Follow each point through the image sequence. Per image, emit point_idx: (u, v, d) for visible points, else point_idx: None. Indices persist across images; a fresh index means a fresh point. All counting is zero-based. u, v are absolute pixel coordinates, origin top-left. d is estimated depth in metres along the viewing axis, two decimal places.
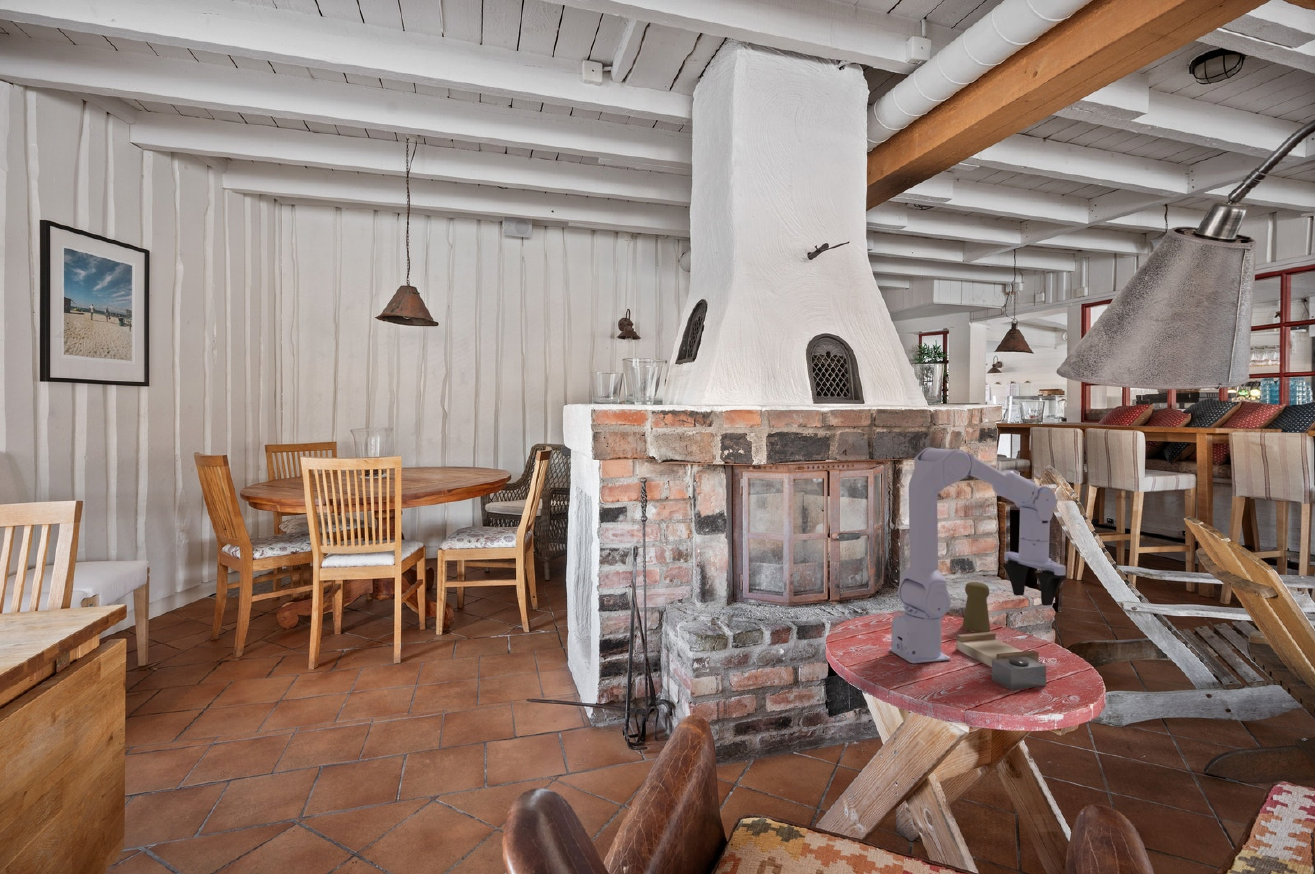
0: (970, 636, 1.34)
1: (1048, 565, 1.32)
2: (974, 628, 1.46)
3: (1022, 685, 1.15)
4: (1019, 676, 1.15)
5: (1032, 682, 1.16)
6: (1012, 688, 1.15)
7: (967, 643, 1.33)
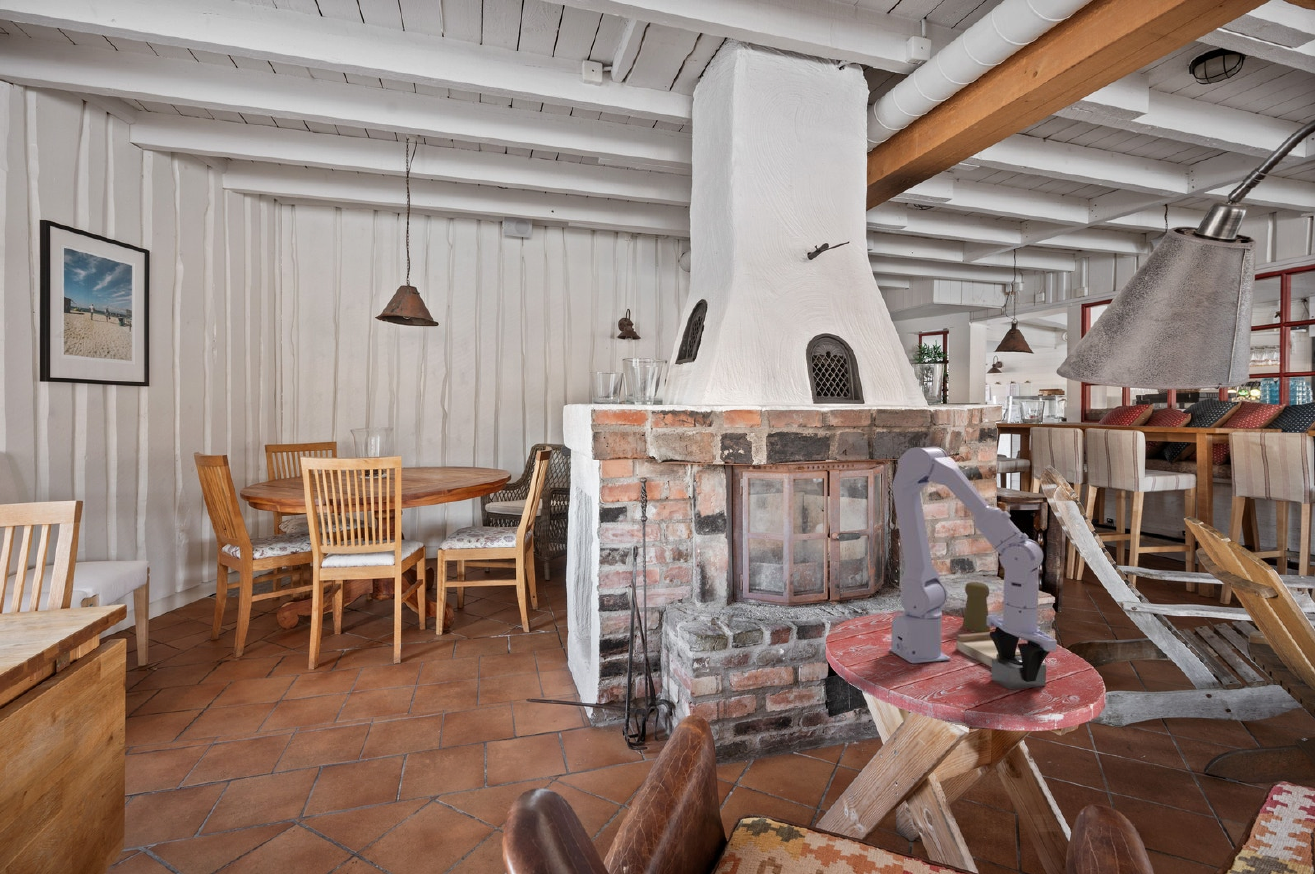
0: (970, 636, 1.34)
1: (1036, 638, 1.12)
2: (974, 628, 1.46)
3: (1022, 684, 1.15)
4: (1019, 675, 1.15)
5: (1032, 681, 1.16)
6: (1012, 687, 1.15)
7: (967, 643, 1.33)
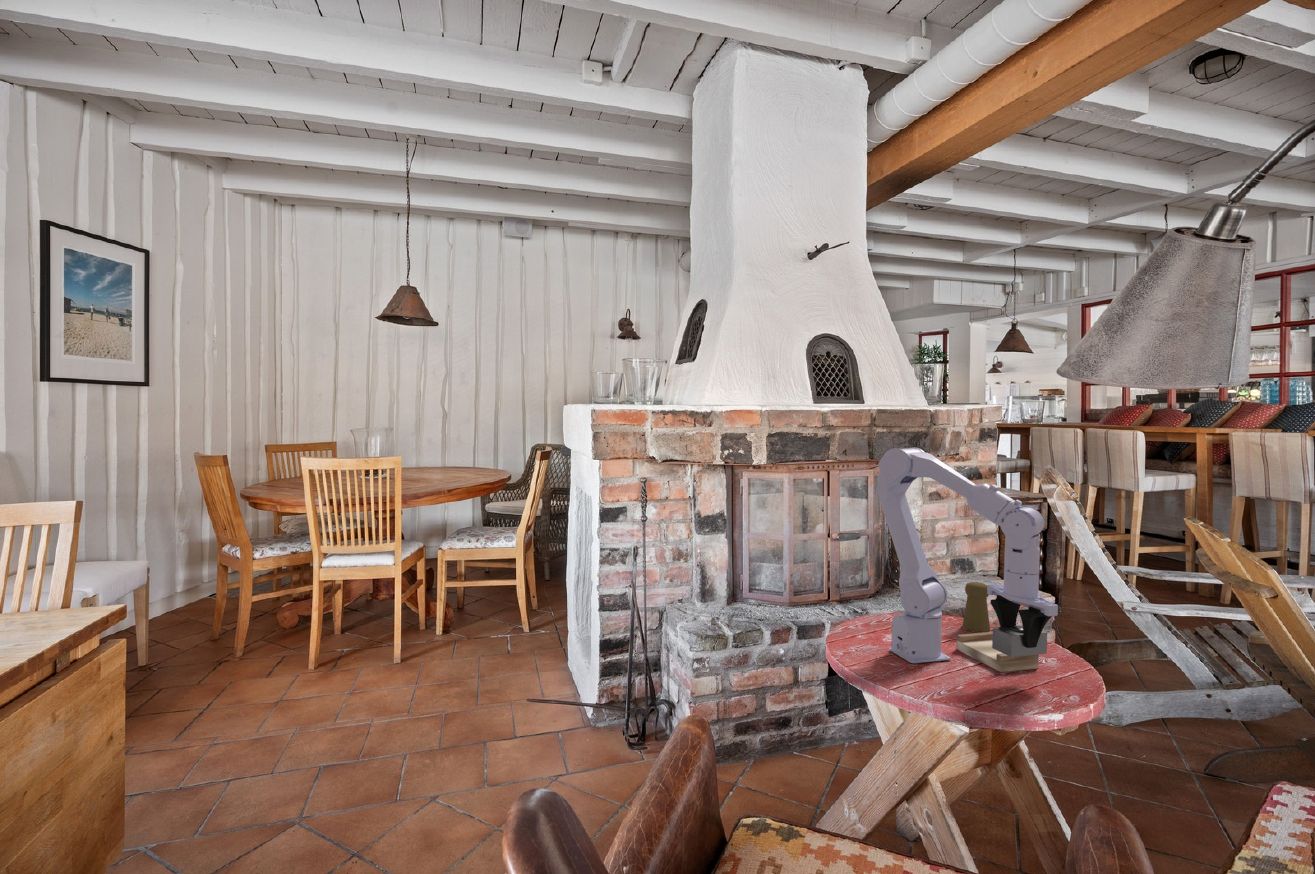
0: (970, 636, 1.34)
1: (1037, 603, 1.12)
2: (974, 628, 1.46)
3: (1023, 651, 1.15)
4: (1020, 642, 1.15)
5: (1033, 649, 1.16)
6: (1012, 654, 1.15)
7: (967, 643, 1.33)
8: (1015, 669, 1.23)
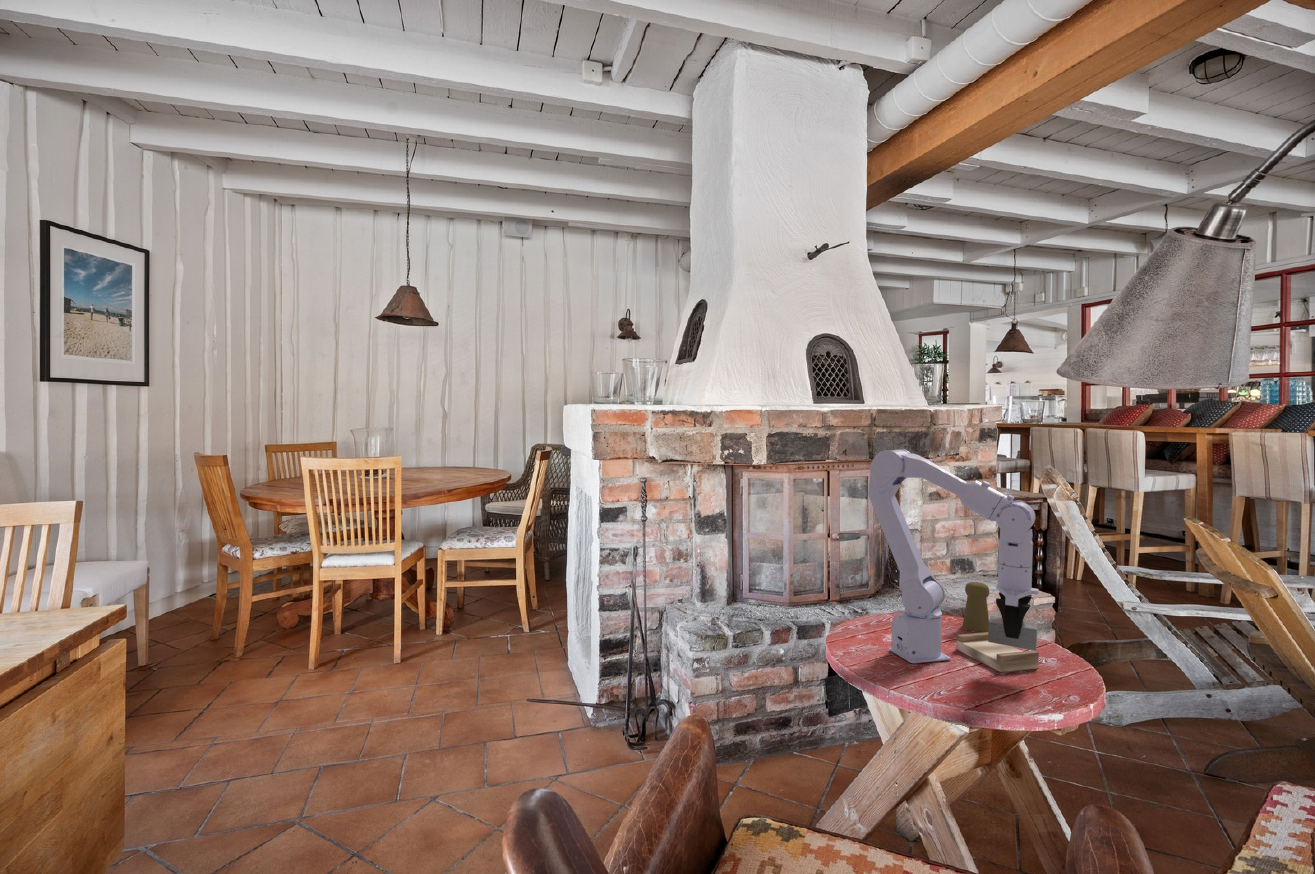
0: (970, 636, 1.34)
1: (1004, 593, 1.17)
2: (974, 628, 1.46)
3: (1003, 640, 1.19)
4: (999, 631, 1.20)
5: (1017, 641, 1.18)
6: (990, 640, 1.21)
7: (967, 643, 1.33)
8: (1015, 669, 1.23)
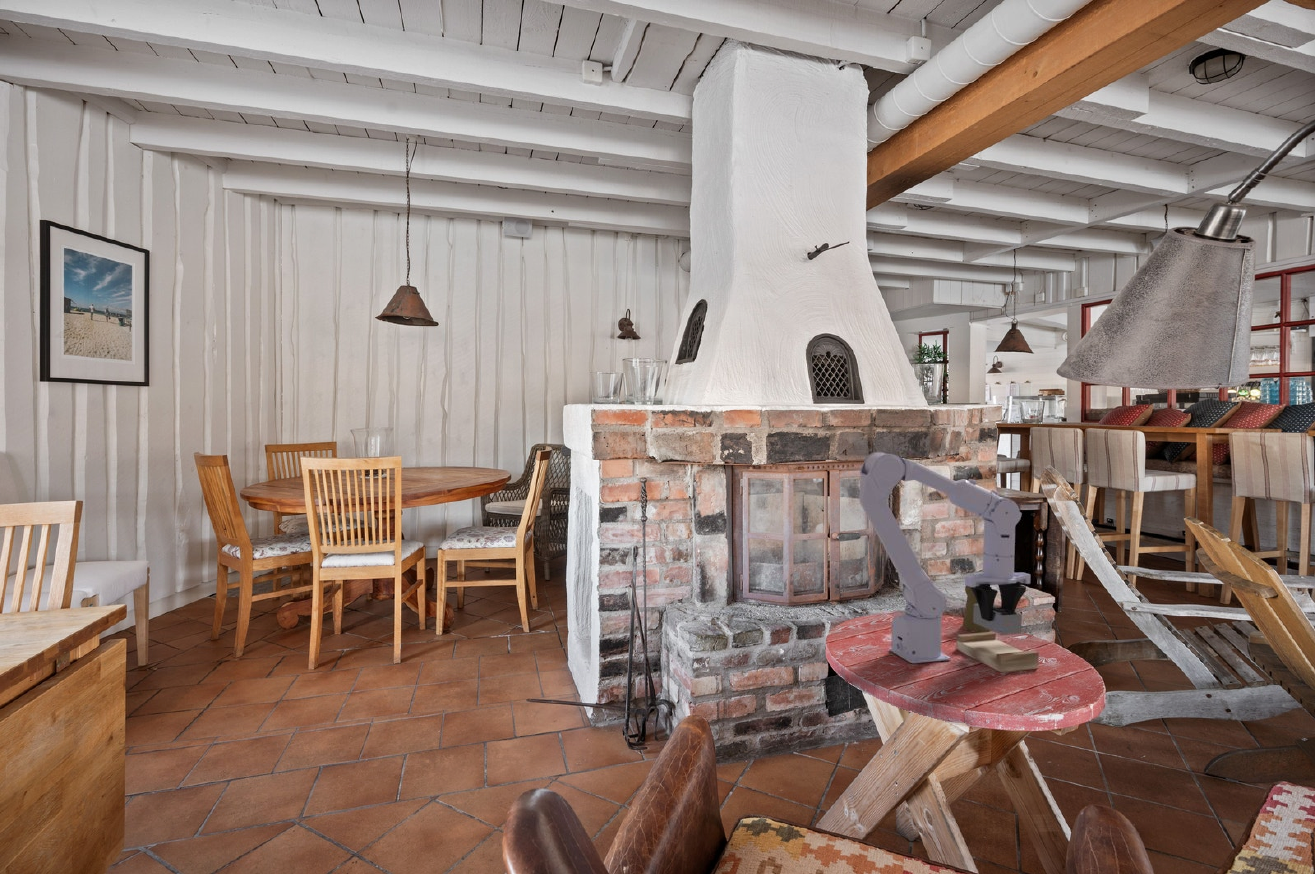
0: (970, 636, 1.34)
1: None
2: (974, 628, 1.46)
3: (982, 622, 1.30)
4: (980, 613, 1.31)
5: (990, 625, 1.28)
6: (974, 621, 1.32)
7: (967, 643, 1.33)
8: (1015, 669, 1.23)
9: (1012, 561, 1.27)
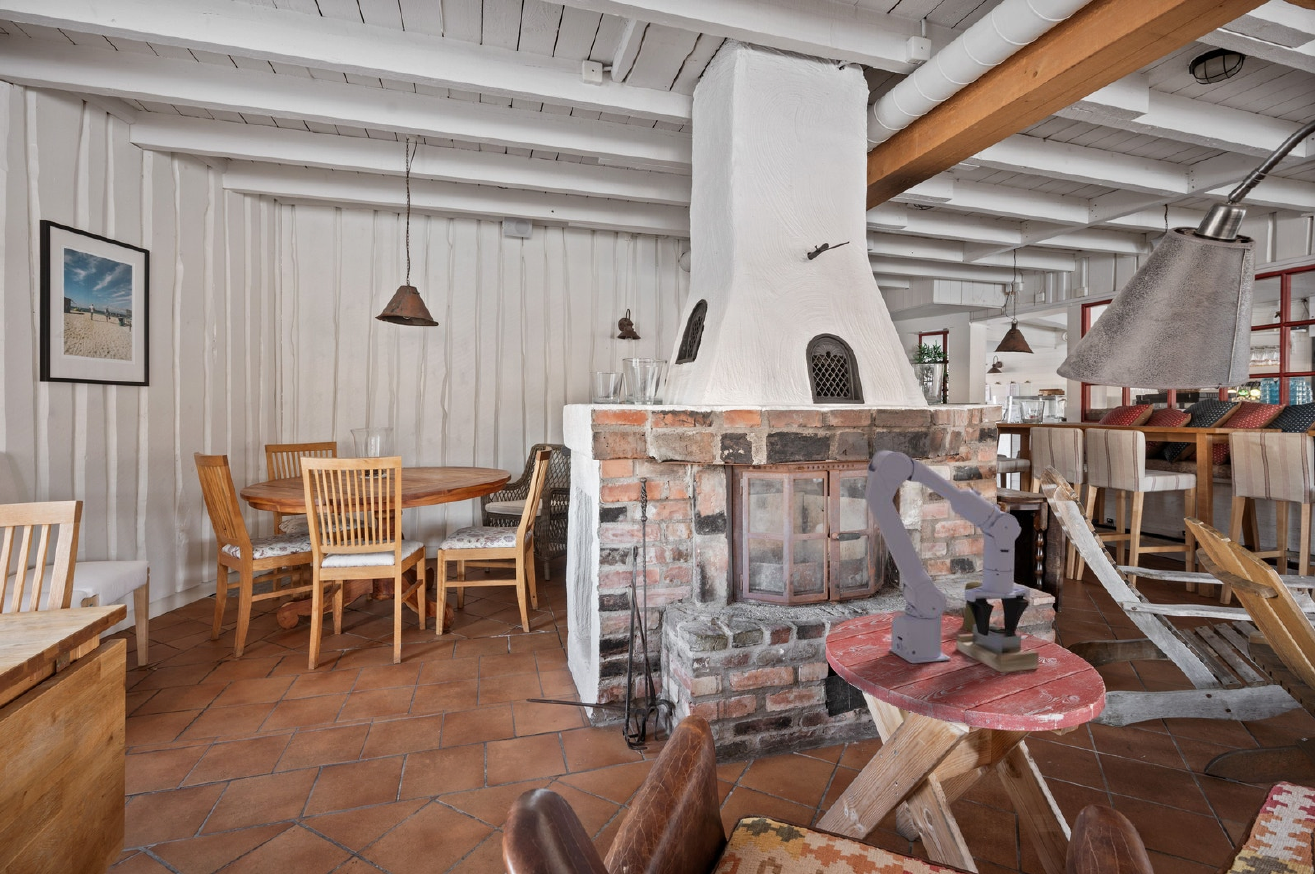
0: (970, 636, 1.34)
1: None
2: None
3: (981, 643, 1.30)
4: (979, 634, 1.31)
5: (990, 646, 1.28)
6: (973, 641, 1.33)
7: (967, 643, 1.33)
8: (1015, 669, 1.23)
9: (1012, 575, 1.27)
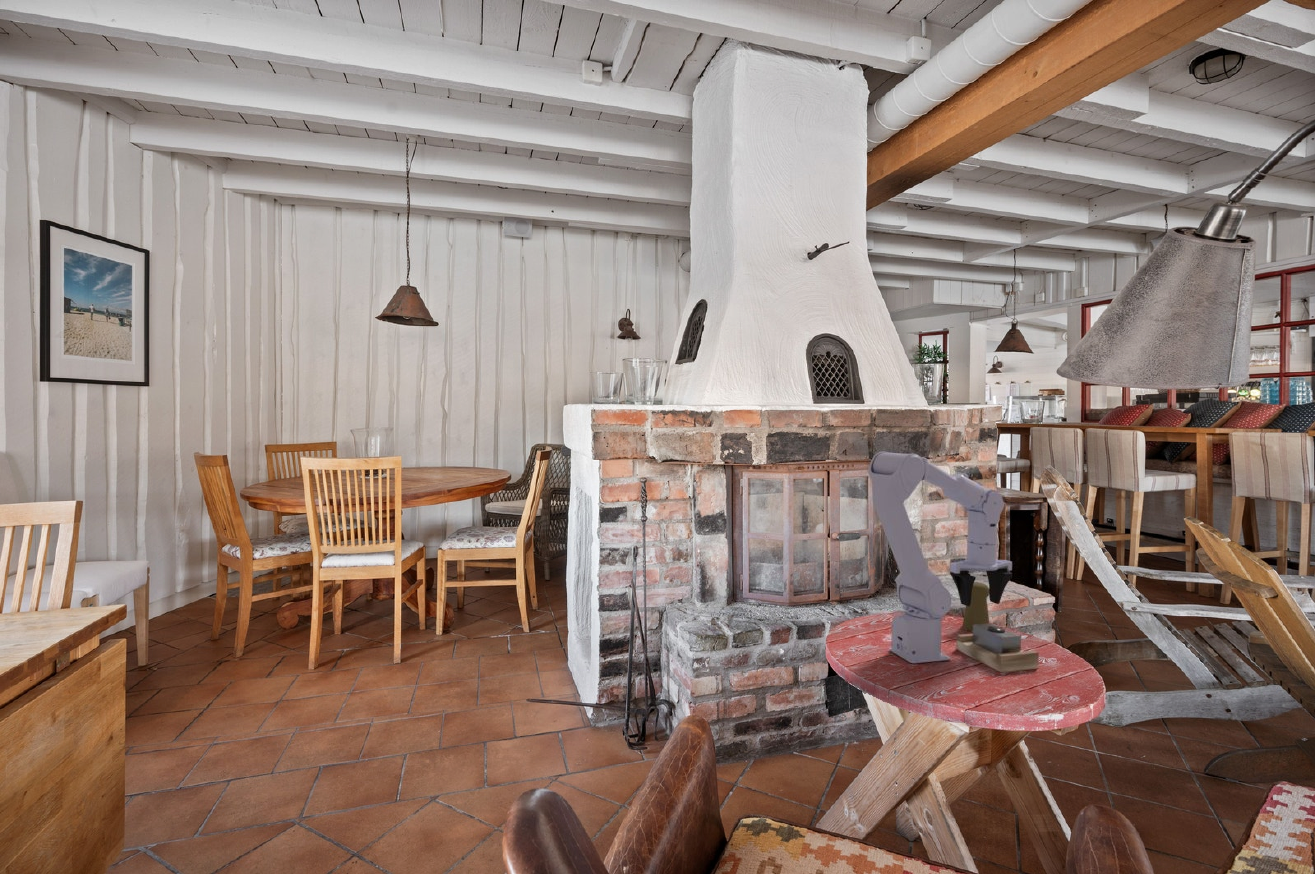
0: (970, 636, 1.34)
1: None
2: None
3: (981, 643, 1.30)
4: (979, 634, 1.31)
5: (990, 646, 1.28)
6: (973, 641, 1.33)
7: (967, 643, 1.33)
8: (1015, 669, 1.23)
9: (994, 549, 1.34)
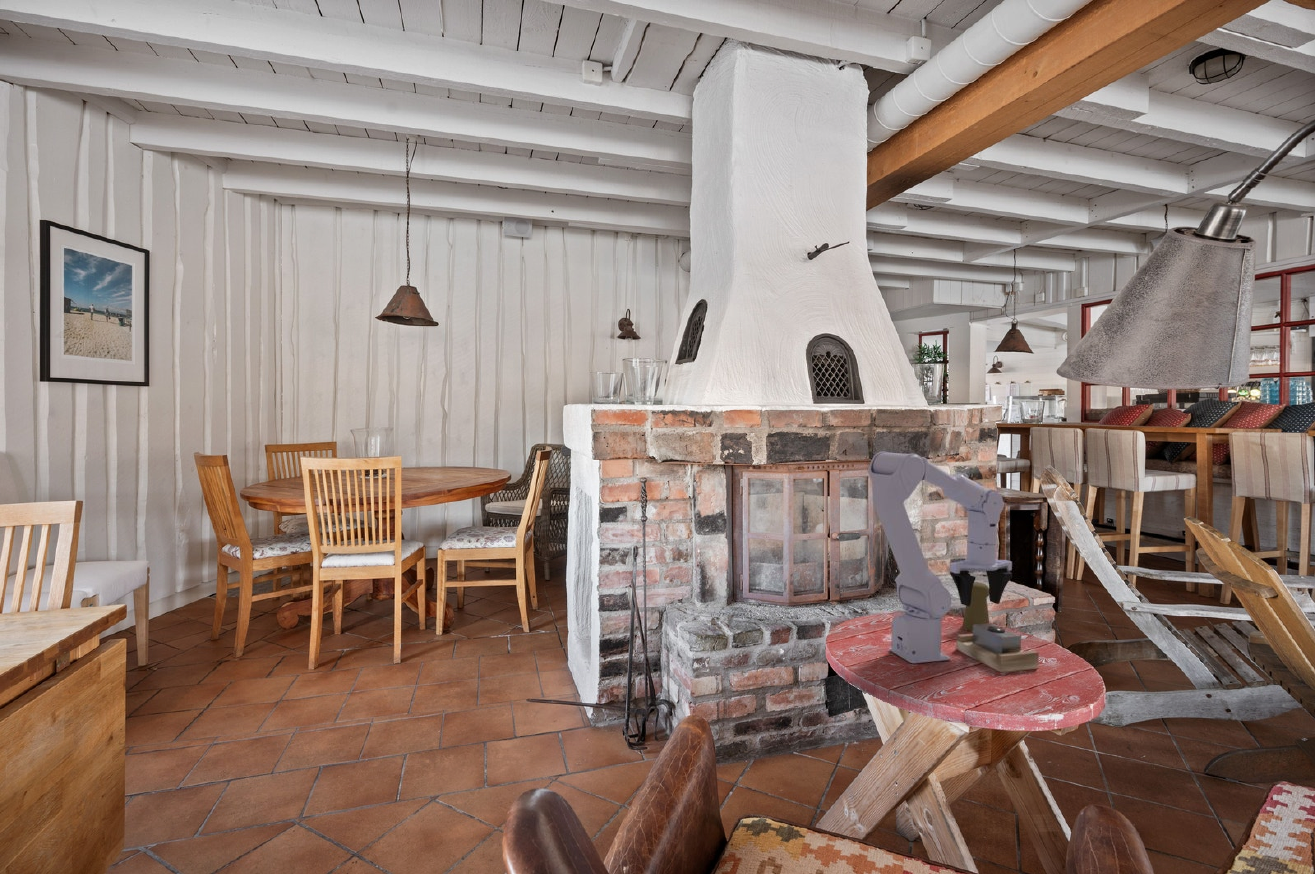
0: (970, 636, 1.34)
1: None
2: None
3: (981, 643, 1.30)
4: (979, 634, 1.31)
5: (990, 646, 1.28)
6: (973, 641, 1.33)
7: (967, 643, 1.33)
8: (1015, 669, 1.23)
9: (994, 549, 1.34)
